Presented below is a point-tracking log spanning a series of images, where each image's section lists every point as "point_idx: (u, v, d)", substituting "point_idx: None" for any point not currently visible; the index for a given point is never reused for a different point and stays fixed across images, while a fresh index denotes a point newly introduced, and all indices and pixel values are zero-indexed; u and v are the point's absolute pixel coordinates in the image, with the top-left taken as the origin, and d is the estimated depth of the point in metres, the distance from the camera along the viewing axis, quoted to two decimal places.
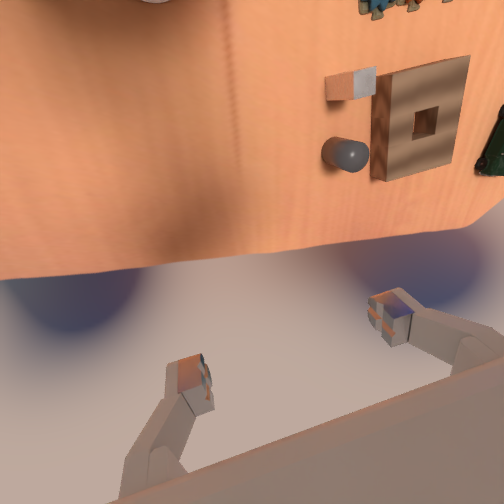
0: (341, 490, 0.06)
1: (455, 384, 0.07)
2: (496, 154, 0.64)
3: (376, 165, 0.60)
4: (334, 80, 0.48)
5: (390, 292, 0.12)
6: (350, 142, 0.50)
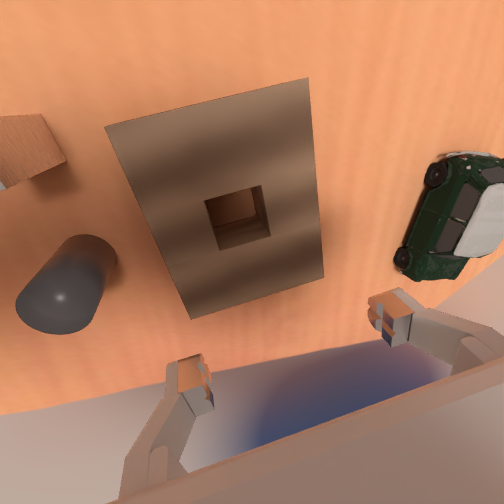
0: (341, 490, 0.06)
1: (455, 384, 0.07)
2: (422, 250, 0.36)
3: None
4: None
5: (390, 292, 0.12)
6: (37, 277, 0.22)
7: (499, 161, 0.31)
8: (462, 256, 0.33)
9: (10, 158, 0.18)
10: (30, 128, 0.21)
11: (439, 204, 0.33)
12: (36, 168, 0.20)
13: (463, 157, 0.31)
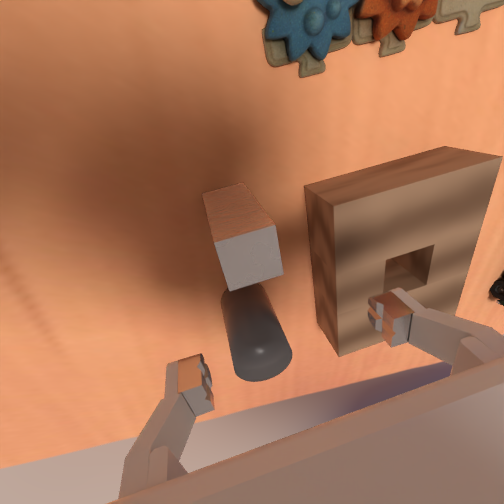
0: (342, 490, 0.06)
1: (455, 384, 0.07)
2: None
3: (323, 319, 0.34)
4: None
5: (390, 292, 0.12)
6: (250, 334, 0.24)
7: None
8: None
9: None
10: None
11: None
12: None
13: None
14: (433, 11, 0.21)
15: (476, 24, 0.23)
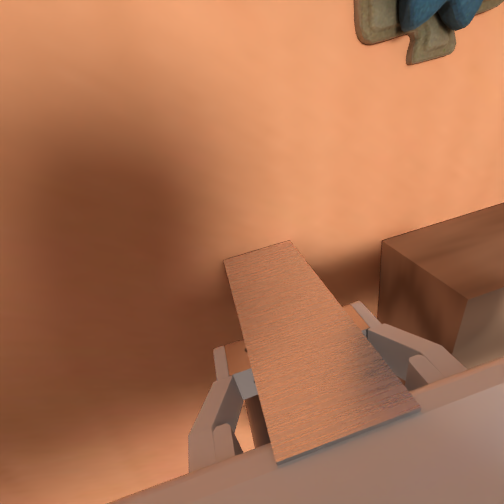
0: (342, 490, 0.06)
1: (455, 384, 0.07)
2: None
3: None
4: None
5: (350, 305, 0.12)
6: None
7: None
8: None
9: None
10: None
11: None
12: None
13: None
14: None
15: None
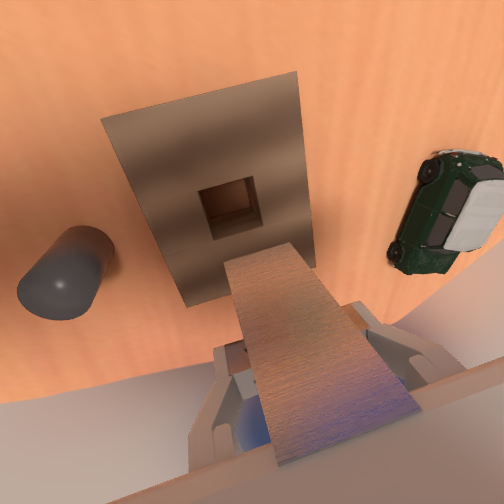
0: (342, 490, 0.06)
1: (455, 384, 0.07)
2: (414, 244, 0.37)
3: None
4: None
5: (350, 305, 0.12)
6: (37, 265, 0.23)
7: (488, 159, 0.32)
8: (452, 250, 0.34)
9: None
10: None
11: (431, 200, 0.35)
12: None
13: (454, 154, 0.32)
14: None
15: None
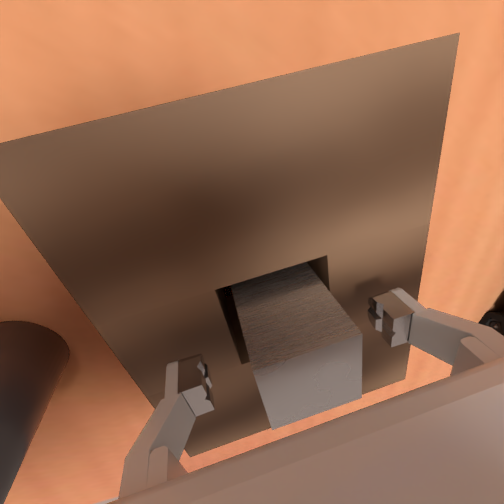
0: (342, 490, 0.06)
1: (455, 384, 0.07)
2: None
3: None
4: None
5: (390, 292, 0.12)
6: None
7: None
8: None
9: None
10: None
11: None
12: None
13: None
14: None
15: None
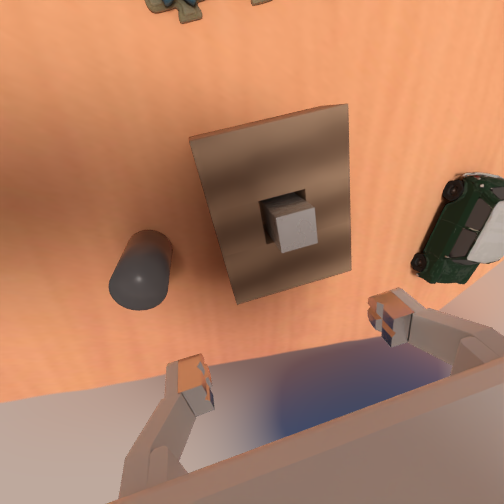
0: (342, 490, 0.06)
1: (455, 384, 0.07)
2: (438, 255, 0.41)
3: None
4: (261, 206, 0.32)
5: (390, 292, 0.12)
6: (125, 261, 0.27)
7: None
8: (474, 261, 0.38)
9: None
10: None
11: (455, 216, 0.39)
12: None
13: (477, 177, 0.37)
14: None
15: None
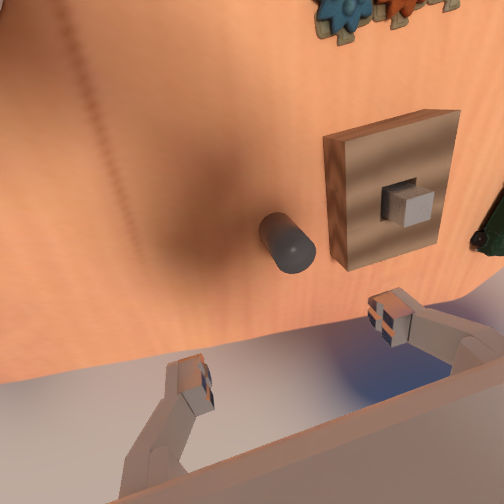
0: (342, 490, 0.06)
1: (455, 384, 0.07)
2: (499, 232, 0.50)
3: (335, 246, 0.45)
4: None
5: (390, 292, 0.12)
6: (287, 235, 0.35)
7: None
8: None
9: None
10: None
11: None
12: None
13: None
14: None
15: (457, 4, 0.33)
